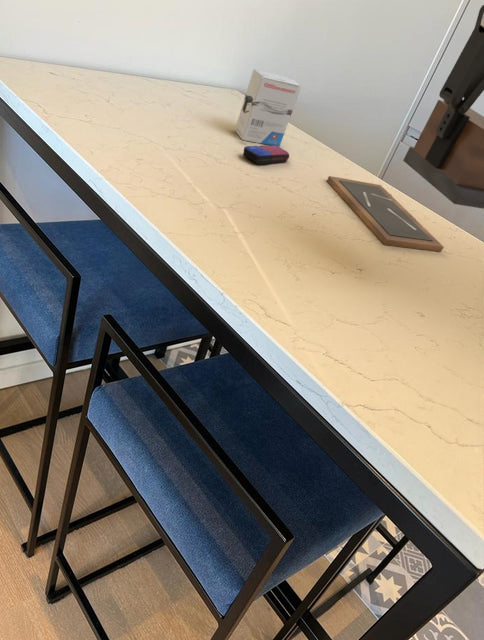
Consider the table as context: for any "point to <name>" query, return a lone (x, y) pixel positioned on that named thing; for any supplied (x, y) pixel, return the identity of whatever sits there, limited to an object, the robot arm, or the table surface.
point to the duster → (453, 160)
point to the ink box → (267, 108)
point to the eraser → (266, 154)
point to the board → (384, 215)
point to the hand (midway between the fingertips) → (450, 167)
